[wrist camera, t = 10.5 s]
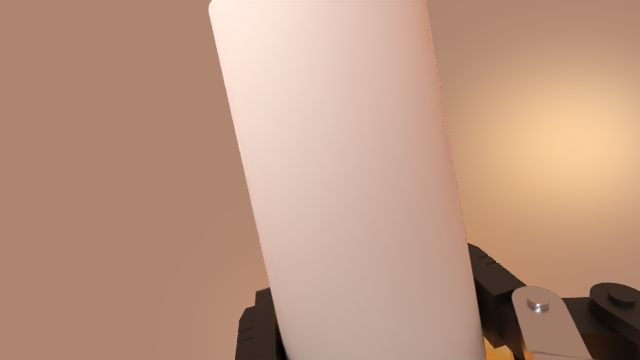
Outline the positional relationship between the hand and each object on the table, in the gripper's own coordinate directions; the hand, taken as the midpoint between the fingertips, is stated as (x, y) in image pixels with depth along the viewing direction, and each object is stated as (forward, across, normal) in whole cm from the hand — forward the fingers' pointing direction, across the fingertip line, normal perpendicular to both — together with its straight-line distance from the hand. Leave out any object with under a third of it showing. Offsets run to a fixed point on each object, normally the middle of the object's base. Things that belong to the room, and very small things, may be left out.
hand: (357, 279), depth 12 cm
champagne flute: (-2, 0, +14) cm, 14 cm away
